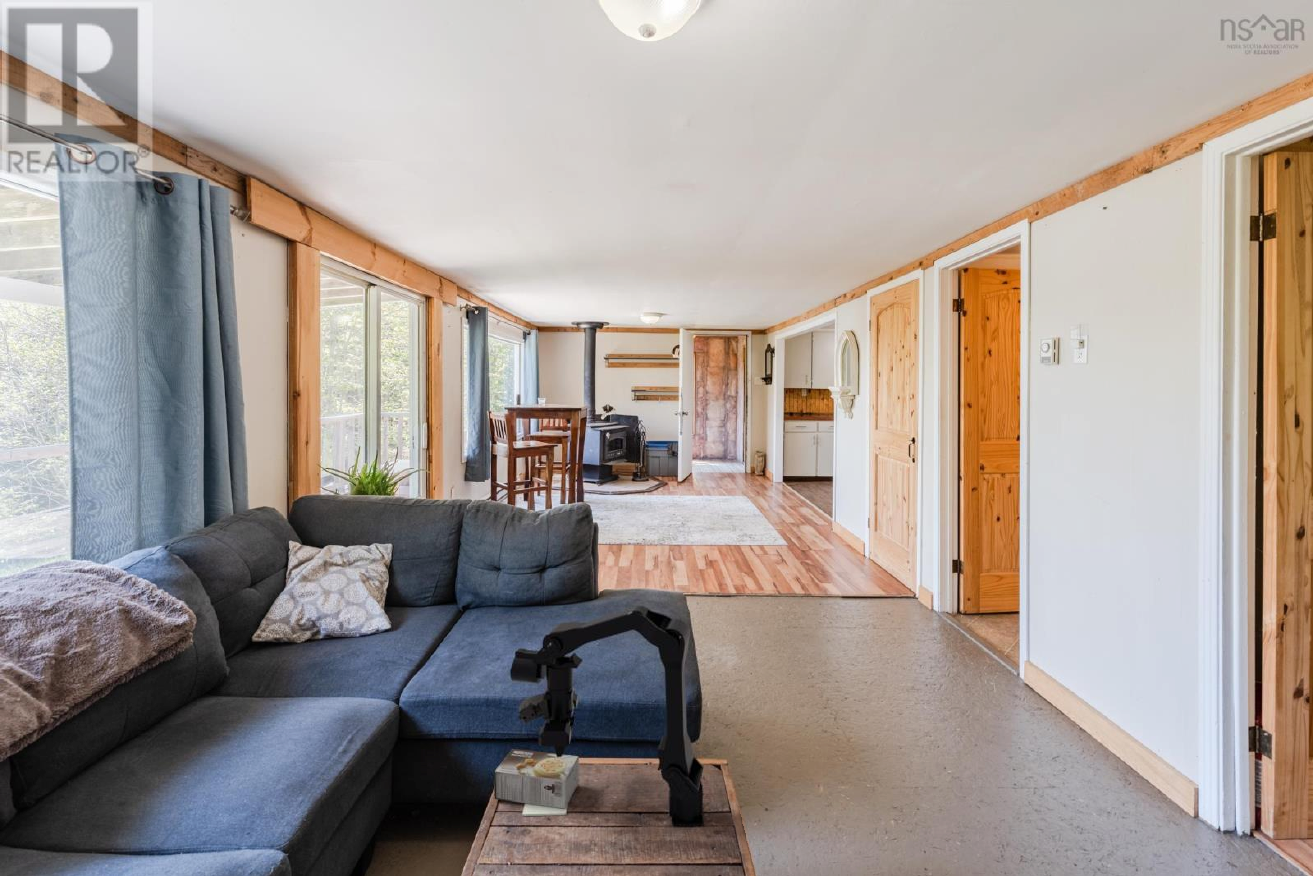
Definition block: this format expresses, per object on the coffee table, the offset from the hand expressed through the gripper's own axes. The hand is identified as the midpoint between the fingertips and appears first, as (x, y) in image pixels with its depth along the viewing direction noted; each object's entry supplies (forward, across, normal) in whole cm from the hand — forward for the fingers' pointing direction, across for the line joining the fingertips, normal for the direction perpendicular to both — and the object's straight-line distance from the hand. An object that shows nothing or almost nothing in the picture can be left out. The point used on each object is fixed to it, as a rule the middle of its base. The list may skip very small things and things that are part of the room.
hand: (559, 756), depth 127 cm
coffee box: (+5, +1, +3) cm, 6 cm away
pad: (+9, 0, -2) cm, 9 cm away
